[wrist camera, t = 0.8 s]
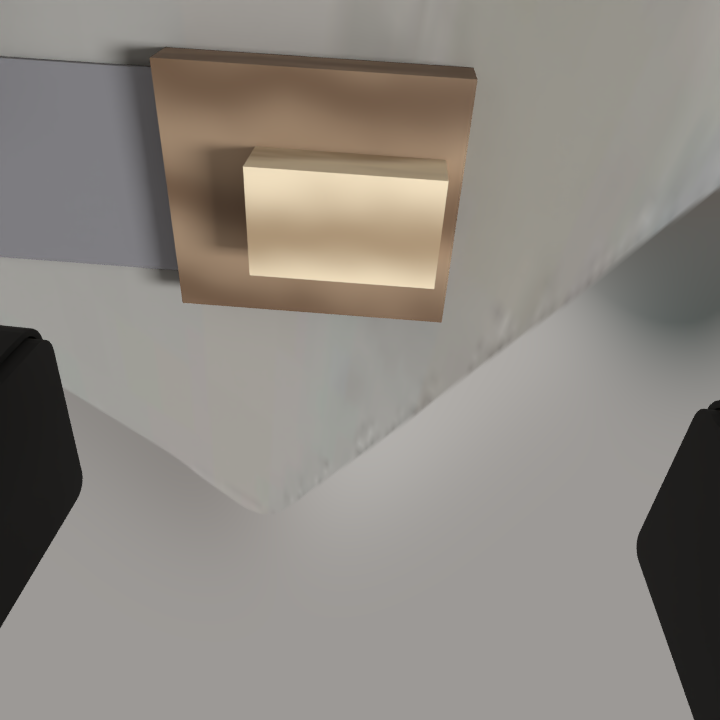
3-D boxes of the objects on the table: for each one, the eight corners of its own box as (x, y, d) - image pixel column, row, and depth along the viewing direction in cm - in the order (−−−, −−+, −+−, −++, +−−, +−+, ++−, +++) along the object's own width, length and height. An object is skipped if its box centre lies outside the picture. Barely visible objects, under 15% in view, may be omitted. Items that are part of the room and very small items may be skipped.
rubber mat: (-92, 50, 34) (-95, 51, 34) (167, 67, 34) (166, 69, 34) (-23, 252, 41) (-26, 254, 41) (192, 268, 41) (190, 271, 41)
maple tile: (255, 146, 34) (242, 166, 31) (445, 159, 33) (448, 181, 31) (260, 250, 37) (249, 275, 35) (432, 262, 37) (434, 289, 35)
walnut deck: (165, 47, 33) (149, 57, 31) (473, 67, 33) (477, 79, 31) (193, 282, 42) (182, 302, 40) (440, 301, 41) (441, 322, 39)
